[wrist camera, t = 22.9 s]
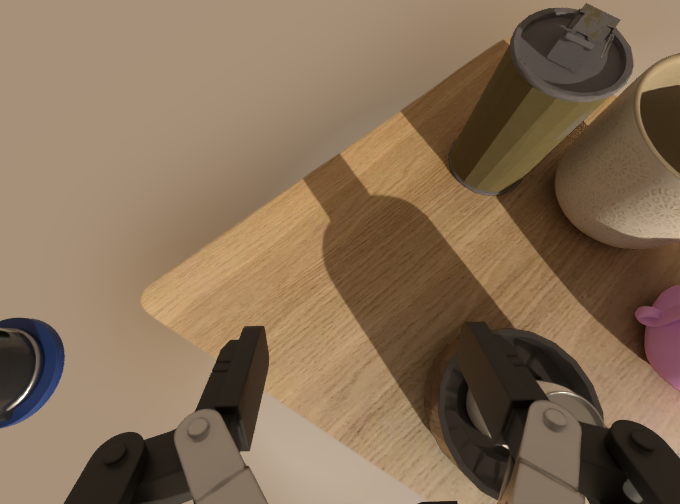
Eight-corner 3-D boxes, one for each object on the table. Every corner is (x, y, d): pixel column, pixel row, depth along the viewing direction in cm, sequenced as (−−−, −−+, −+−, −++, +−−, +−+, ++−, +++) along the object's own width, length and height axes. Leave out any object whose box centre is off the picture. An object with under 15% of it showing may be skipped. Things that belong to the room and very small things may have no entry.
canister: (499, 210, 42) (630, 94, 23) (433, 167, 44) (504, 27, 25) (538, 155, 45) (687, 9, 25) (475, 116, 46) (569, -46, 27)
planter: (672, 170, 44) (836, 81, 29) (658, 282, 39) (846, 243, 25) (548, 131, 46) (645, 29, 31) (522, 233, 41) (621, 170, 27)
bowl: (565, 494, 33) (612, 524, 27) (418, 468, 33) (433, 492, 28) (557, 342, 37) (597, 341, 31) (427, 323, 38) (443, 318, 32)
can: (475, 362, 36) (538, 369, 24) (531, 390, 35) (623, 410, 24) (455, 419, 34) (513, 455, 23) (513, 449, 33) (603, 502, 22)
